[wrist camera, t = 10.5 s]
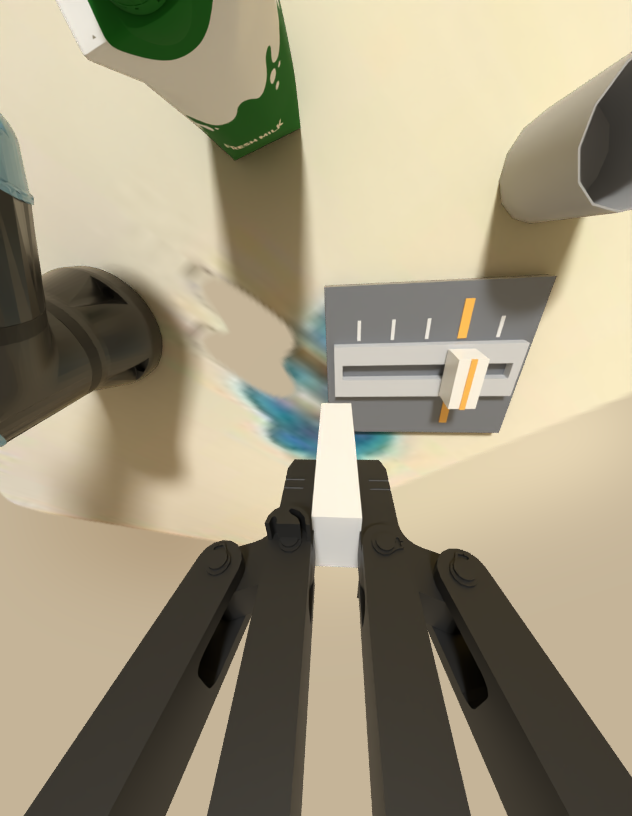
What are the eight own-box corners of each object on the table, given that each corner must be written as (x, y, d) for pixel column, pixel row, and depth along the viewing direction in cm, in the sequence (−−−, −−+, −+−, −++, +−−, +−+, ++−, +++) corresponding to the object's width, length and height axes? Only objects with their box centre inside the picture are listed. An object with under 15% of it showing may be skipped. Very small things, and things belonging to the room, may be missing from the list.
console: (330, 425, 42) (329, 436, 39) (325, 285, 31) (323, 288, 29) (493, 426, 39) (502, 437, 37) (547, 274, 29) (564, 277, 26)
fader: (435, 390, 35) (448, 409, 31) (444, 345, 32) (460, 360, 28) (459, 390, 35) (475, 410, 31) (471, 344, 32) (490, 359, 27)
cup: (602, 195, 25) (734, 168, 17) (505, 239, 28) (577, 236, 19) (606, 75, 21) (779, -38, 13) (494, 138, 24) (578, 78, 15)
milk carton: (231, 176, 27) (35, 55, 10) (182, 44, 23) (-314, -576, 6) (313, 136, 25) (246, -103, 8) (277, -17, 21) (-48, -1295, 4)
